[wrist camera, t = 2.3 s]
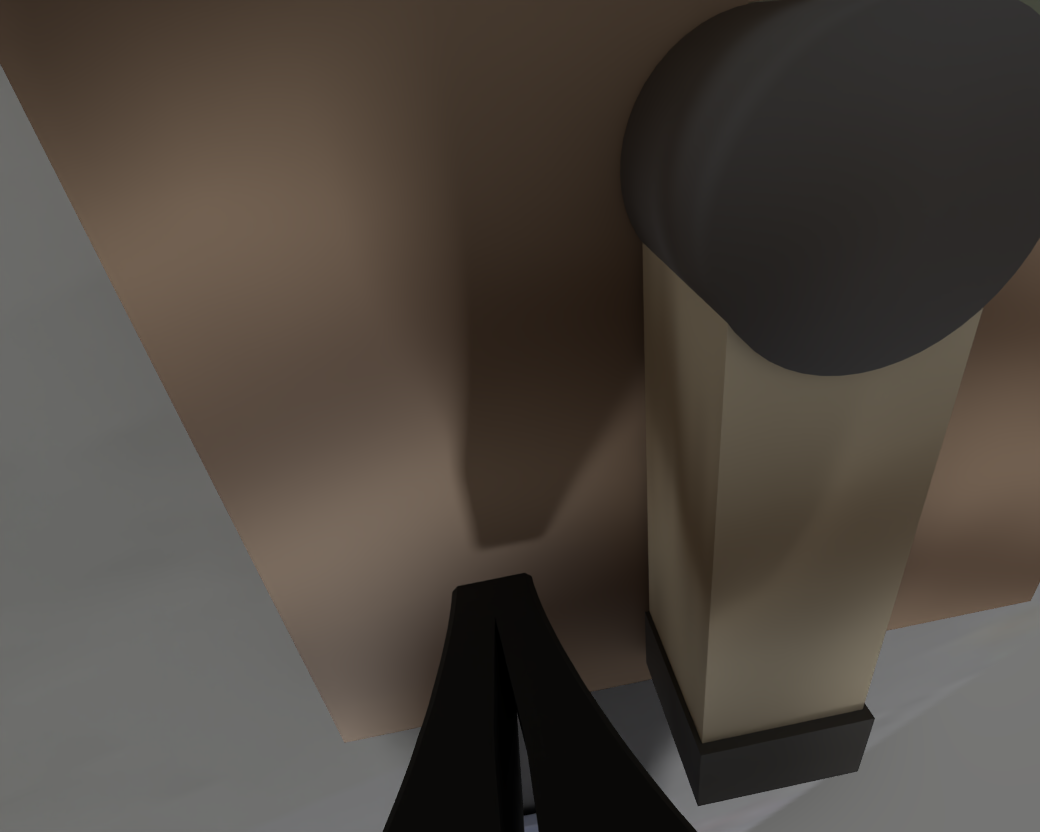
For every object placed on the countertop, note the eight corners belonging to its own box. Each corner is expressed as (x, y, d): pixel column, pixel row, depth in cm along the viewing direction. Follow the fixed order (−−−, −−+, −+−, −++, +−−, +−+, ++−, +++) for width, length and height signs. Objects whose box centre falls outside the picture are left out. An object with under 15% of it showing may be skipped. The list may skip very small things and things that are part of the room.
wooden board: (985, 558, 17) (1034, 603, 16) (350, 686, 16) (344, 747, 15) (1412, -524, 7) (1638, -649, 6) (-124, -348, 6) (-266, -447, 5)
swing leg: (614, 23, 8) (721, 21, 5) (893, -20, 8) (1141, -44, 5) (638, 664, 15) (688, 808, 12) (785, 633, 15) (867, 769, 12)
